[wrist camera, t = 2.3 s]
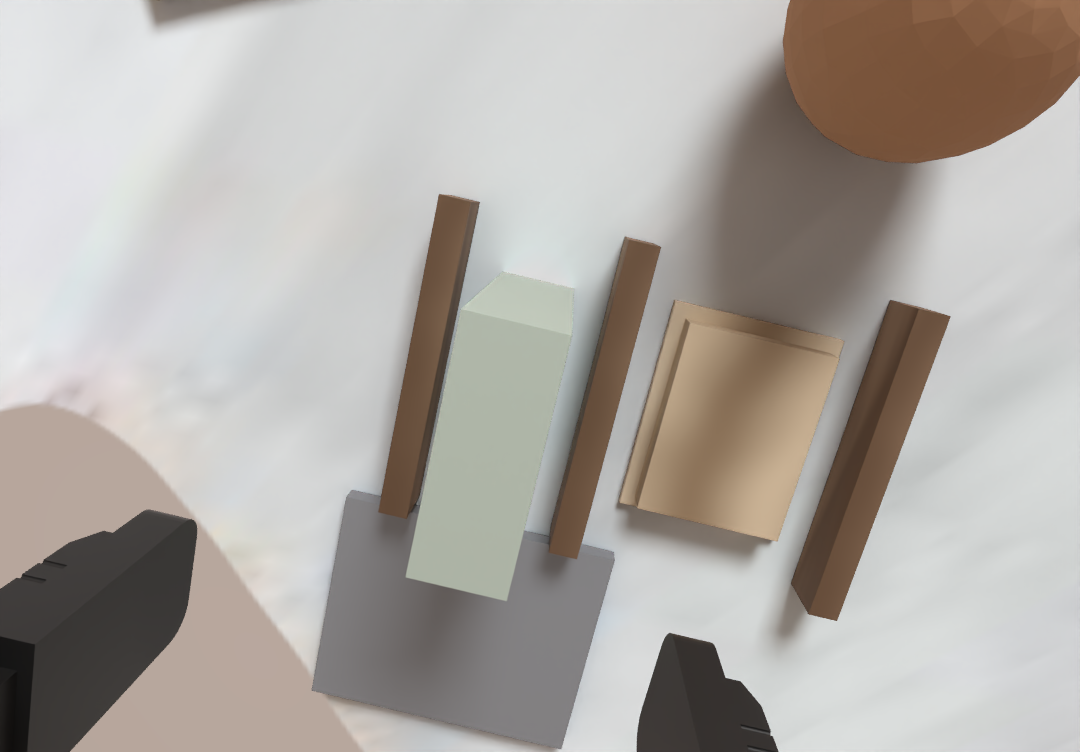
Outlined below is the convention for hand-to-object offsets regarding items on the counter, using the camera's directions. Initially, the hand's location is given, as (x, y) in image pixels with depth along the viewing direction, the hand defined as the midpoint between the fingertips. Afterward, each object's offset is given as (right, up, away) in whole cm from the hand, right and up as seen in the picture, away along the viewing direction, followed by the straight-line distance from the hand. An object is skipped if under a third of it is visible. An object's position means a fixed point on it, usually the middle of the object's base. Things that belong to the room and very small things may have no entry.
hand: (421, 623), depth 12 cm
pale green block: (+1, +4, +19) cm, 19 cm away
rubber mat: (-2, -7, +21) cm, 23 cm away
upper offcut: (+10, +2, +18) cm, 21 cm away
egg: (+14, +16, +15) cm, 26 cm away
